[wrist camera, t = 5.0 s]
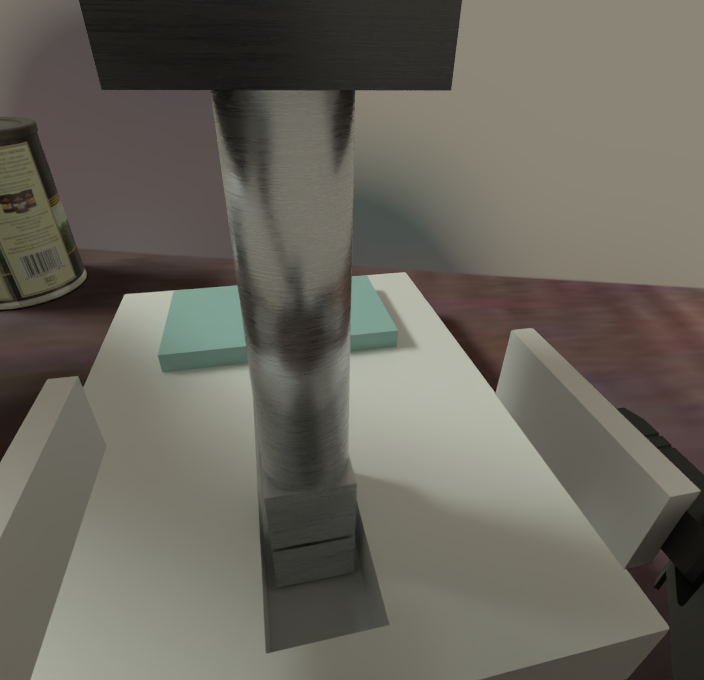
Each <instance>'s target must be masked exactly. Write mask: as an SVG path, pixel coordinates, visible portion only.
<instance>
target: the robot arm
mask: <svg viewBox="0 0 704 680" xmlns="http://www.w3.org/2000/svg"><path fill="white" fill-rule="evenodd" d="M495 395H496V396H497V397H498V399H499V400H500V401H501V403H502V404H503V406H504V407H505V408H506V410H507V411H508V412H509V414H510V415H511V416H512V418H513V419H514V421H515V422H516V423H517V425H518V426H519V427H520V429H521V430H522V431H523V433H524V434H525V436H526V437H527V438H528V440H529V441H530V442H531V444H532V445H533V446H534V448H535V449H536V451H537V452H538V453H539V455H540V456H541V457H542V459H543V460H544V461H545V463H546V464H547V466H548V467H549V468H550V470H551V471H552V472H553V474H554V475H555V476H556V478H557V479H558V481H559V482H560V483H561V485H562V486H563V487H564V489H565V490H566V491H567V493H568V494H569V496H570V497H571V498H572V500H573V501H574V502H575V504H576V505H577V506H578V508H579V509H580V511H581V512H582V513H583V515H584V516H585V517H586V519H587V520H588V521H589V523H590V524H591V526H592V527H593V528H594V530H595V531H596V532H597V534H598V535H599V536H600V538H601V539H602V541H603V542H604V543H605V545H606V546H607V547H608V549H609V550H610V551H611V553H612V554H613V556H614V557H615V558H616V560H617V561H618V562H619V564H620V565H621V566H622V568H623V569H628V568H633V567H637V566H641V565H646V564H650V563H651V562H652V561H653V559H654V558H655V556H656V555H657V554H658V552H659V551H660V549H662V550H663V552H664V553H665V554H666V555H667V556H668V558H669V559H670V561H669V562H668V564H667V565H666V566H665V568H664V569H663V570H662V572H661V573H660V574H659V576H658V577H657V578H656V580H655V583H654V588H656V589H658V590H659V589H660V587H661V586H662V585H663V583H664V582H665V581H666V580H667V591H666V593H667V596H668V613H669V631H670V648H671V666H672V680H704V475H703V474H702V473H701V472H700V471H699V470H698V469H697V468H696V467H695V466H694V465H693V464H692V463H690V462H689V461H688V460H687V459H686V458H685V457H684V456H683V455H682V454H681V453H680V452H679V451H678V450H676V449H675V448H672V447H671V444H670V443H669V442H668V441H667V440H666V439H665V438H663V437H662V436H659V433H658V432H657V431H656V430H655V429H654V428H653V427H652V426H651V425H649V424H648V423H647V422H646V421H645V420H644V419H643V418H641V417H639V416H637V415H636V414H634V413H632V412H631V411H629V410H627V409H625V408H618V409H616V408H615V407H614V406H613V405H612V404H611V403H610V402H608V401H607V400H606V399H605V398H604V397H603V396H602V395H601V394H600V393H599V392H598V391H597V390H596V389H595V388H594V387H593V386H592V385H591V384H590V383H589V382H588V381H587V380H586V379H585V378H584V377H583V376H582V375H581V374H580V373H578V372H577V371H576V370H575V369H574V368H573V367H572V366H571V365H570V364H569V363H568V362H567V361H566V360H565V359H564V358H563V357H562V356H561V355H560V354H559V353H558V352H557V351H556V350H555V349H554V348H553V347H552V346H551V345H550V344H548V343H547V342H546V341H545V340H544V339H543V338H542V337H541V336H540V335H539V334H538V333H537V332H536V331H535V330H534V329H533V328H528V329H519V330H512V331H511V334H510V338H509V342H508V346H507V350H506V354H505V358H504V362H503V366H502V370H501V374H500V378H499V381H498V385H497V389H496V393H495ZM105 449H106V444H105V441H104V439H103V436H102V434H101V431H100V429H99V426H98V424H97V421H96V419H95V417H94V414H93V412H92V409H91V407H90V404H89V402H88V399H87V397H86V394H85V392H84V390H83V387H82V385H81V382H80V380H79V377H78V376H74V377H64V378H55V379H47V381H46V383H45V384H44V386H43V388H42V390H41V391H40V393H39V395H38V397H37V398H36V400H35V402H34V404H33V406H32V407H31V409H30V411H29V413H28V414H27V416H26V418H25V420H24V421H23V423H22V425H21V427H20V428H19V430H18V432H17V434H16V436H15V437H14V439H13V441H12V443H11V444H10V446H9V448H8V450H7V451H6V453H5V455H4V457H3V458H2V460H1V462H0V680H31V677H32V674H33V670H34V667H35V664H36V661H37V658H38V655H39V652H40V649H41V646H42V643H43V640H44V637H45V634H46V631H47V627H48V624H49V621H50V618H51V615H52V612H53V609H54V606H55V603H56V600H57V597H58V594H59V591H60V588H61V585H62V581H63V578H64V575H65V572H66V569H67V566H68V563H69V560H70V557H71V554H72V551H73V548H74V545H75V542H76V538H77V535H78V532H79V529H80V526H81V523H82V520H83V517H84V514H85V511H86V508H87V505H88V502H89V499H90V496H91V492H92V489H93V486H94V483H95V480H96V477H97V474H98V471H99V468H100V465H101V462H102V459H103V456H104V453H105Z"/></svg>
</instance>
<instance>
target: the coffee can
mask: <svg viewBox="0 0 704 680" xmlns="http://www.w3.org/2000/svg"><path fill="white" fill-rule="evenodd" d="M37 131H38V129H37V125H36V123H35V121H33V120H30V119H27V118H18V117H0V310H6V309H16V308H23V307H29V306H33V305H37V304H41V303H44V302H47V301H50V300H53V299H56V298H58V297H61V296H63V295H65V294H67V293H69V292H71V291H73V290H74V289H76V288H77V287H79V286H80V285H81V284H82V283H83V282H84V280H85V279H86V276H87V272H86V270H85V268H84V266H83V264H82V261H81V258H80V255H79V252H78V249H77V247H76V244H75V241H74V238H73V235H72V232H71V229H70V226H69V223H68V220H67V218H66V215H65V212H64V209H63V206H62V203H61V201H60V198H59V195H58V192H57V189H56V186H55V183H54V180H53V177H52V174H51V172H50V168H49V165H48V163H47V160H46V157H45V154H44V151H43V149H42V146H41V143H40V140H39V137H38V134H37Z"/></svg>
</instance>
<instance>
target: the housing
mask: <svg viewBox="0 0 704 680" xmlns="http://www.w3.org/2000/svg"><path fill="white" fill-rule="evenodd" d="M365 276H367V277H368V278H369V280H370V282H371V284H372V285H373V287H374V289H375V291H376V292H377V294H378V296H379V298H380V300H381V301H382V303H383V305H384V307H385V308H386V310H387V312H388V314H389V315H390V317H391V319H392V321H393V322H394V324H395V326H396V328H397V329H398V337H397V347H388V348H379V349H370V350H361V351H352V352H350V394H349V449H348V453H349V457H350V460H351V464H352V467H353V471H354V475H355V478H356V482H357V493H356V521H355V534H354V535H355V549H354V572H352V573H348V574H343V575H338V576H333V577H328V578H323V579H318V580H314V581H309V582H304V583H299V584H294V585H289V586H284V587H280V588H277V585H276V578H275V571H274V564H273V557H272V550H271V543H270V536H269V529H268V522H267V515H266V508H265V501H264V488H263V472H262V460H261V452H260V445H259V438H258V431H257V423H256V416H255V409H254V402H253V394H252V387H251V380H250V373H249V365H248V363H243V364H234V365H225V366H216V367H207V368H198V369H189V370H180V371H171V372H162V370H161V366H160V362H159V359H158V352H159V348H160V344H161V340H162V336H163V332H164V328H165V324H166V320H167V316H168V312H169V308H170V304H171V300H172V296H173V292H174V291H176V290H174V291H161V292H148V293H136V294H124V297H123V299H122V301H121V303H120V306H119V308H118V310H117V312H116V315H115V317H114V319H113V321H112V324H111V326H110V328H109V331H108V333H107V335H106V337H105V340H104V342H103V344H102V346H101V349H100V351H99V353H98V355H97V358H96V360H95V362H94V364H93V367H92V369H91V371H90V373H89V376H88V378H87V380H86V382H85V385H84V387H83V390H84V392H85V394H86V397H87V399H88V402H89V404H90V407H91V409H92V412H93V414H94V417H95V419H96V421H97V424H98V426H99V429H100V431H101V434H102V436H103V439H104V441H105V444H106V449H105V453H104V456H103V459H102V462H101V465H100V468H99V471H98V474H97V477H96V480H95V483H94V486H93V489H92V492H91V496H90V499H89V502H88V505H87V508H86V511H85V514H84V517H83V520H82V523H81V526H80V529H79V532H78V535H77V538H76V542H75V545H74V548H73V551H72V554H71V557H70V560H69V563H68V566H67V569H66V572H65V575H64V578H63V581H62V585H61V588H60V591H59V594H58V597H57V600H56V603H55V606H54V609H53V612H52V615H51V618H50V621H49V624H48V627H47V631H46V634H45V637H44V640H43V643H42V646H41V649H40V652H39V655H38V658H37V661H36V664H35V667H34V670H33V674H32V677H31V680H626V679H628V677H629V676H630V675H631V674H632V673H633V672H634V671H635V669H636V668H637V667H638V666H639V665H640V664H641V662H642V661H643V660H644V659H645V658H646V657H647V655H648V654H649V653H650V652H651V651H652V650H653V648H654V647H655V646H656V645H657V644H658V643H659V642H660V640H661V639H662V638H663V637H664V636H665V635H666V633H667V632H668V631H669V626H668V624H667V623H666V622H665V620H664V619H663V618H662V616H661V615H660V614H659V612H658V611H657V610H656V608H655V607H654V606H653V604H652V603H651V602H650V600H649V599H648V598H647V596H646V595H645V594H644V592H643V591H642V590H641V588H640V587H639V585H638V584H637V583H636V581H635V580H634V579H633V577H632V576H631V575H630V573H629V572H628V571H627V569H623V568H622V566H621V565H620V564H619V562H618V561H617V560H616V558H615V557H614V556H613V554H612V553H611V551H610V550H609V549H608V547H607V546H606V545H605V543H604V542H603V541H602V539H601V538H600V536H599V535H598V534H597V532H596V531H595V530H594V528H593V527H592V526H591V524H590V523H589V521H588V520H587V519H586V517H585V516H584V515H583V513H582V512H581V511H580V509H579V508H578V506H577V505H576V504H575V502H574V501H573V500H572V498H571V497H570V496H569V494H568V493H567V491H566V490H565V489H564V487H563V486H562V485H561V483H560V482H559V481H558V479H557V478H556V476H555V475H554V474H553V472H552V471H551V470H550V468H549V467H548V466H547V464H546V463H545V461H544V460H543V459H542V457H541V456H540V455H539V453H538V452H537V451H536V449H535V448H534V446H533V445H532V444H531V442H530V441H529V440H528V438H527V437H526V436H525V434H524V433H523V431H522V430H521V429H520V427H519V426H518V425H517V423H516V422H515V421H514V419H513V418H512V416H511V415H510V414H509V412H508V411H507V410H506V408H505V407H504V406H503V404H502V403H501V401H500V400H499V399H498V397H497V396H496V395H495V392H494V391H493V389H492V388H491V387H490V385H489V384H488V383H487V381H486V380H485V379H484V377H483V376H482V375H481V373H480V372H479V371H478V369H477V368H476V366H475V365H474V364H473V362H472V361H471V360H470V358H469V357H468V356H467V354H466V353H465V352H464V350H463V349H462V348H461V346H460V345H459V344H458V342H457V341H456V340H455V338H454V337H453V336H452V334H451V333H450V332H449V330H448V329H447V328H446V326H445V325H444V323H443V322H442V321H441V319H440V318H439V317H438V315H437V314H436V313H435V311H434V310H433V309H432V307H431V306H430V305H429V303H428V302H427V301H426V299H425V298H424V297H423V295H422V294H421V293H420V291H419V290H418V289H417V287H416V286H415V285H414V283H413V282H412V280H411V279H410V278H409V276H408V275H407V274H406V272H404V273H391V274H378V275H365ZM352 277H354V276H352ZM225 287H227V286H225ZM212 288H214V287H212ZM199 289H201V288H199ZM187 290H188V289H187Z"/></svg>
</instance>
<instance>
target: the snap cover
mask: <svg viewBox="0 0 704 680" xmlns="http://www.w3.org/2000/svg"><path fill="white" fill-rule="evenodd" d="M397 337H398V329H397V328H396V326H395V324H394V322H393V321H392V319H391V317H390V315H389V314H388V312H387V310H386V308H385V307H384V305H383V303H382V301H381V300H380V298H379V296H378V294H377V292H376V291H375V289H374V287H373V285H372V284H371V282H370V280H369V278H368V277H367V276H354V277H352V285H351V340H350V352H352V351H361V350H370V349H379V348H388V347H397ZM158 359H159V362H160V366H161V370H162V372H171V371H180V370H189V369H198V368H207V367H216V366H225V365H234V364H243V363H248V358H247V351H246V344H245V336H244V329H243V322H242V315H241V307H240V300H239V293H238V286H227V287H214V288H201V289H188V290H176V291H174V292H173V296H172V300H171V304H170V308H169V312H168V316H167V320H166V324H165V328H164V332H163V336H162V340H161V344H160V348H159V352H158Z"/></svg>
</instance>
